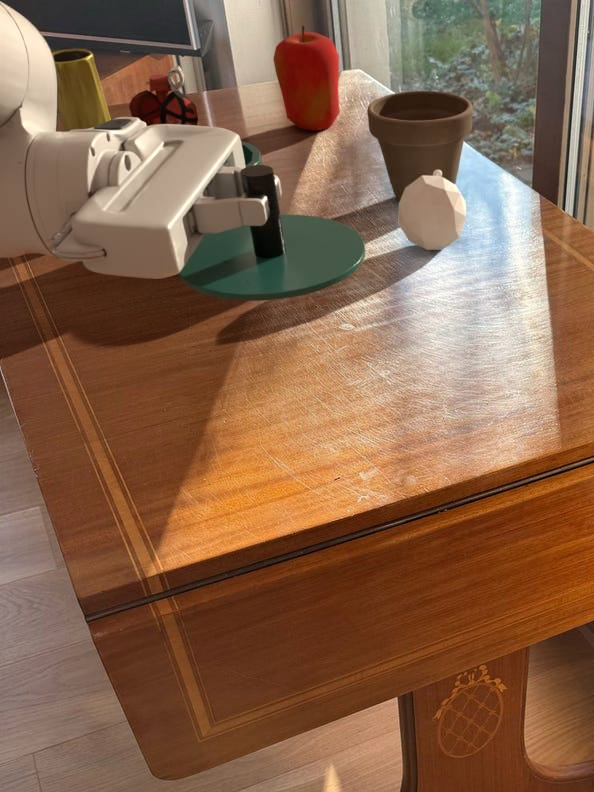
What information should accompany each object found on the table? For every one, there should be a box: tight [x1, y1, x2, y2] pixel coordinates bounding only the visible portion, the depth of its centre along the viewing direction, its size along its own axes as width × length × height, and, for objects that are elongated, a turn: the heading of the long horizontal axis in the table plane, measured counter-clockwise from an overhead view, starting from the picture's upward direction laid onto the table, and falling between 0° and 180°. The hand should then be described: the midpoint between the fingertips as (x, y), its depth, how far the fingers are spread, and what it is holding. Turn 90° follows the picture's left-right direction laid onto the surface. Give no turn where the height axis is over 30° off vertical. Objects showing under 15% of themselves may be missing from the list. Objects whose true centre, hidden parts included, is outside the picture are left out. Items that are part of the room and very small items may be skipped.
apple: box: [273, 24, 341, 132], centre depth 128 cm, size 9×8×12 cm
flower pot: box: [366, 90, 474, 203], centre depth 110 cm, size 12×11×10 cm
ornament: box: [398, 170, 467, 251], centre depth 102 cm, size 7×7×8 cm
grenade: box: [128, 65, 199, 126], centre depth 122 cm, size 5×8×10 cm, turn 103°
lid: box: [176, 164, 366, 302], centre depth 74 cm, size 15×15×7 cm
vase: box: [52, 48, 112, 132], centre depth 113 cm, size 6×6×14 cm
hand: (273, 199), depth 73 cm, fingers closed on lid, 2 cm apart
